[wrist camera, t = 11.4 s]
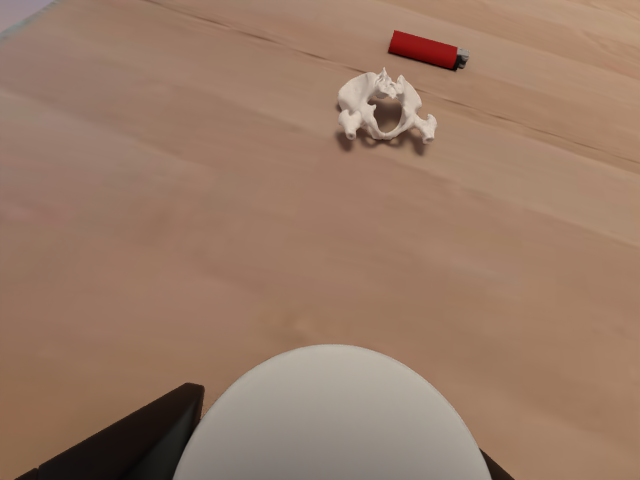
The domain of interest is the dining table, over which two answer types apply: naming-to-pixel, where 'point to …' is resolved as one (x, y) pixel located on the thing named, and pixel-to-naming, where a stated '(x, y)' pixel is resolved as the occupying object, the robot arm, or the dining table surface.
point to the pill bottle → (331, 423)
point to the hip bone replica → (362, 113)
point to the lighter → (428, 50)
